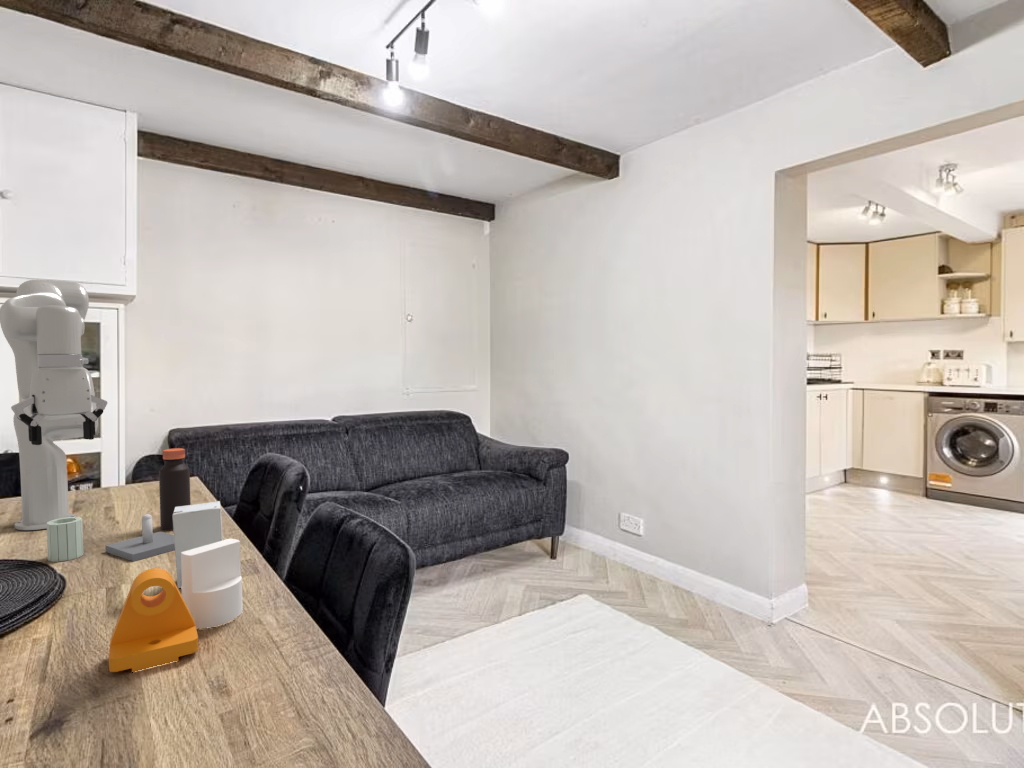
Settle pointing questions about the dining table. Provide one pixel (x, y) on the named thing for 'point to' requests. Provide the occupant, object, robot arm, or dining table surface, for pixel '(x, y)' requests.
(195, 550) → the cylinder with rectangular tab
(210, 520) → the skincare box
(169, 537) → the roll stand
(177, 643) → the bracket
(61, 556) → the sage tube
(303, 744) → the dining table surface
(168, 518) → the bottle
